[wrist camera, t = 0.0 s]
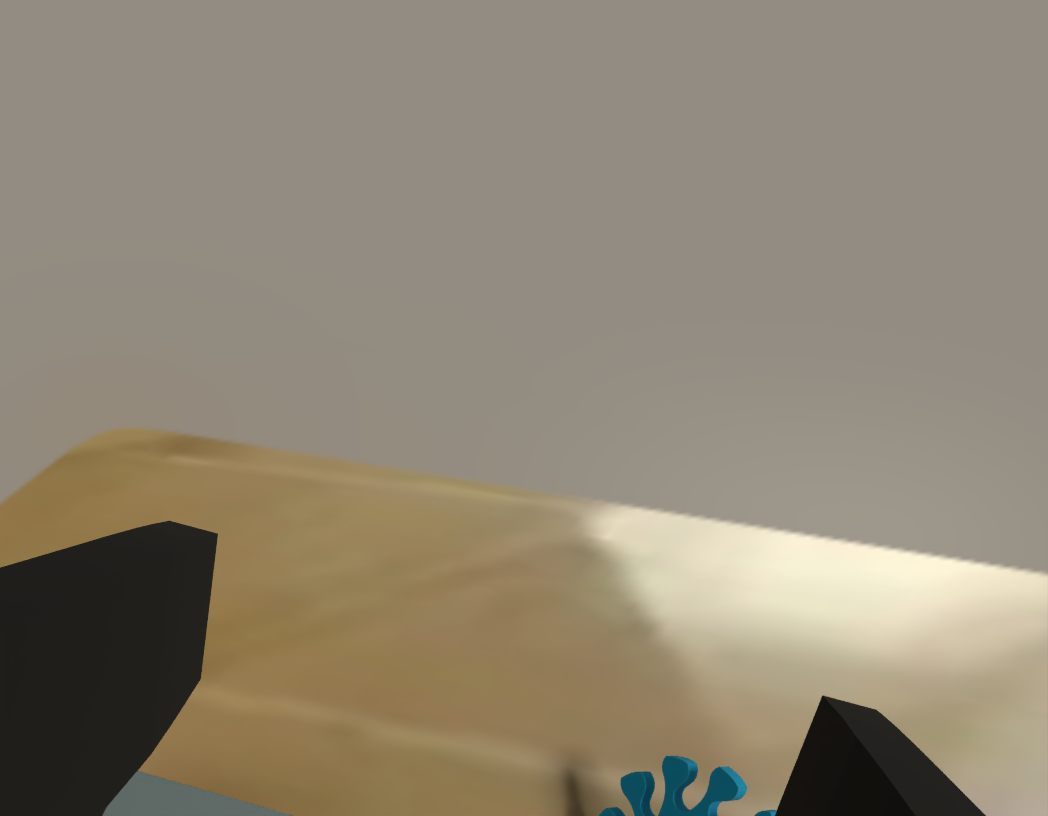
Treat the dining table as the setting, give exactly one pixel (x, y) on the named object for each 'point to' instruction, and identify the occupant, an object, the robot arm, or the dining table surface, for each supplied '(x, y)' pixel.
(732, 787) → the teal spiky virus toy
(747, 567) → the dining table surface
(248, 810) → the socket plate
